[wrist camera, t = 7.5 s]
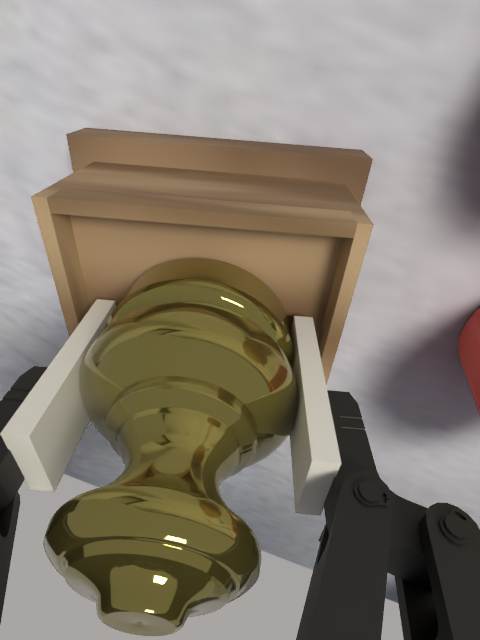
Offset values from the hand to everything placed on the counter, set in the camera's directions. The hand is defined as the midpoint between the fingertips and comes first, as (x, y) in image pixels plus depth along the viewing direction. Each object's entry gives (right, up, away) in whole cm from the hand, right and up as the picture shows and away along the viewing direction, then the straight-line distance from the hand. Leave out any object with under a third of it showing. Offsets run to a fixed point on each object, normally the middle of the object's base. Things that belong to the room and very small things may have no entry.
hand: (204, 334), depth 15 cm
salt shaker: (0, 0, +1) cm, 1 cm away
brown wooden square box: (0, +4, +5) cm, 7 cm away
